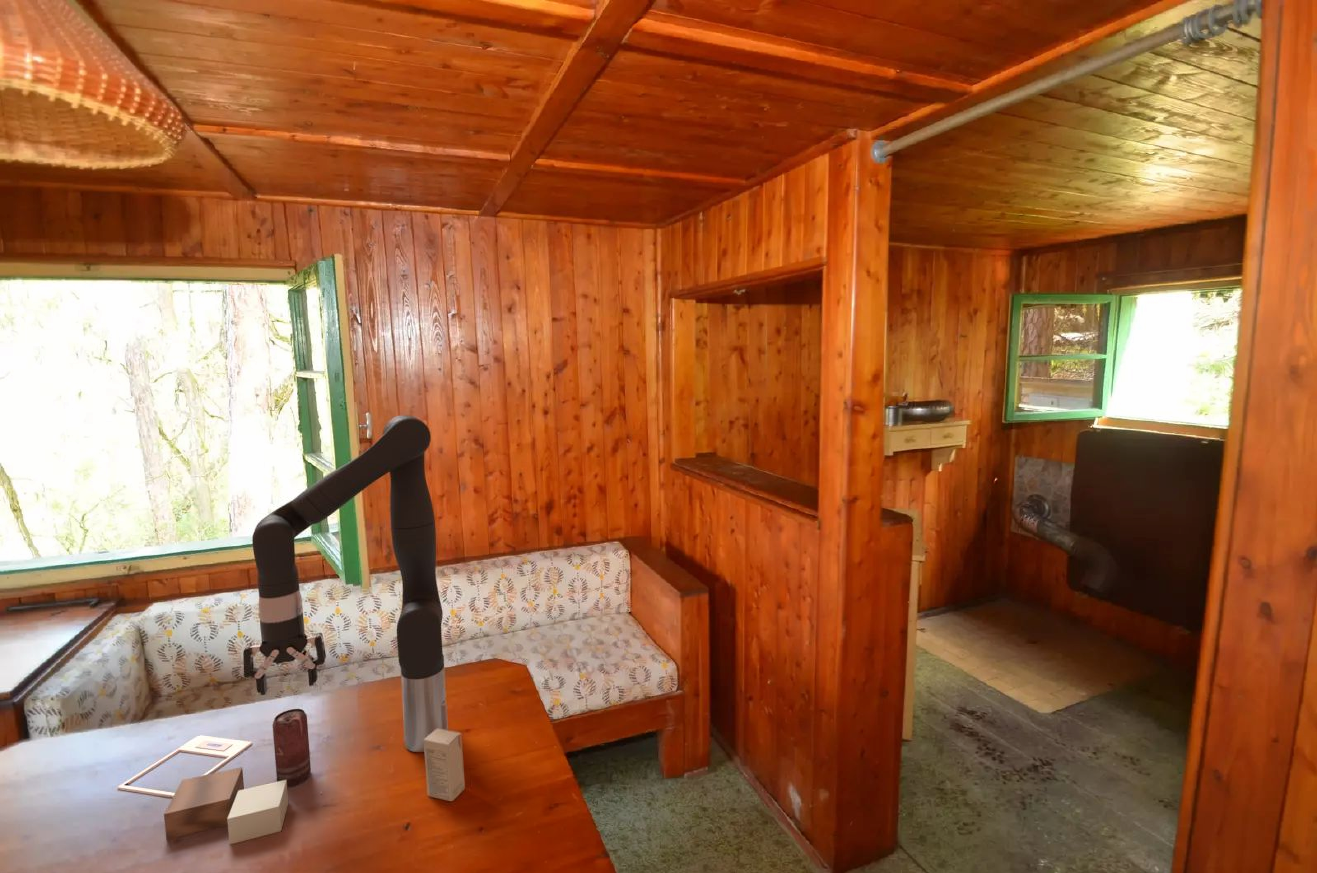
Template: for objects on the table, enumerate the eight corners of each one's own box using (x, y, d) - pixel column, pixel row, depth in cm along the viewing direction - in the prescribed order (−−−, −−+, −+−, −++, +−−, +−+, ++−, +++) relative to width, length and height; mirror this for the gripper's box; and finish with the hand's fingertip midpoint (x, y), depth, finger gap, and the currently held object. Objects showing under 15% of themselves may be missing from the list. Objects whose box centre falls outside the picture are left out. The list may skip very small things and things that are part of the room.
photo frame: (252, 741, 139) (176, 795, 121) (252, 745, 139) (177, 800, 121) (199, 734, 142) (117, 786, 124) (199, 738, 142) (117, 791, 124)
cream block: (288, 803, 120) (286, 779, 119) (280, 831, 113) (278, 806, 112) (240, 814, 117) (238, 790, 116) (229, 844, 110) (227, 819, 109)
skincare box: (465, 788, 124) (463, 732, 122) (452, 803, 120) (449, 745, 118) (439, 781, 126) (437, 726, 125) (425, 795, 122) (422, 738, 120)
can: (296, 790, 124) (291, 725, 122) (270, 786, 125) (264, 722, 123) (318, 770, 130) (314, 709, 128) (293, 767, 131) (288, 706, 129)
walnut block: (244, 789, 124) (242, 767, 123) (231, 823, 115) (229, 799, 114) (184, 803, 120) (182, 780, 119) (166, 839, 111) (163, 814, 110)
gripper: (323, 601, 129) (329, 673, 131) (244, 612, 124) (251, 687, 126) (318, 614, 122) (325, 690, 124) (235, 626, 117) (243, 705, 119)
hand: (288, 688), depth 125 cm, fingers open, 8 cm apart
